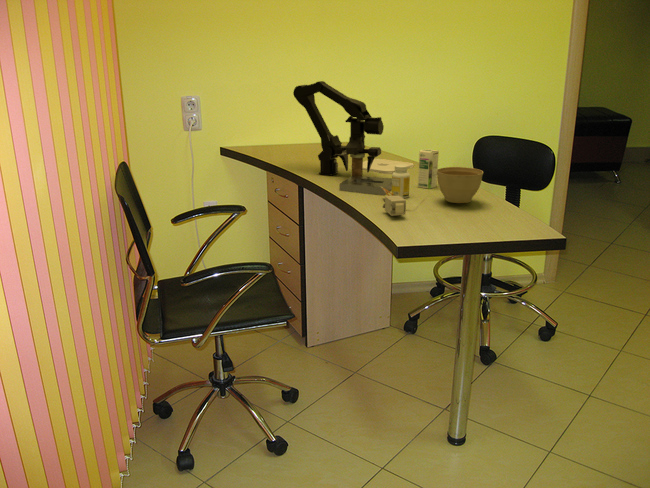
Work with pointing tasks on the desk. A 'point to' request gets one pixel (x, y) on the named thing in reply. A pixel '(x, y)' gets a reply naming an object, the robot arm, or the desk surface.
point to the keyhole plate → (366, 185)
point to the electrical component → (394, 204)
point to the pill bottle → (400, 181)
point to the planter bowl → (459, 183)
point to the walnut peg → (357, 164)
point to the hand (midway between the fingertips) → (357, 171)
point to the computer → (384, 166)
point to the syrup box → (428, 168)
